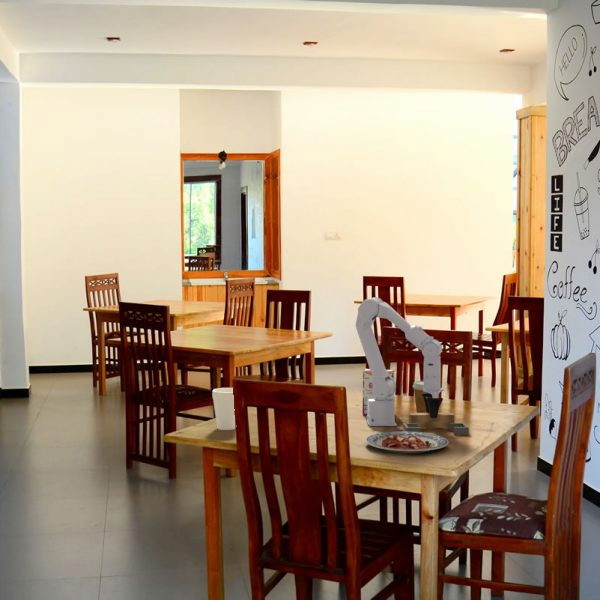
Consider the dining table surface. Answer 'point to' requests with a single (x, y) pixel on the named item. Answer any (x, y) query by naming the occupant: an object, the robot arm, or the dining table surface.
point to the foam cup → (224, 408)
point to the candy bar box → (370, 387)
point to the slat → (432, 420)
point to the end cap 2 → (459, 428)
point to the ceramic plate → (406, 441)
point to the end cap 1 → (411, 427)
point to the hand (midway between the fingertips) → (431, 415)
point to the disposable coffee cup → (419, 396)
